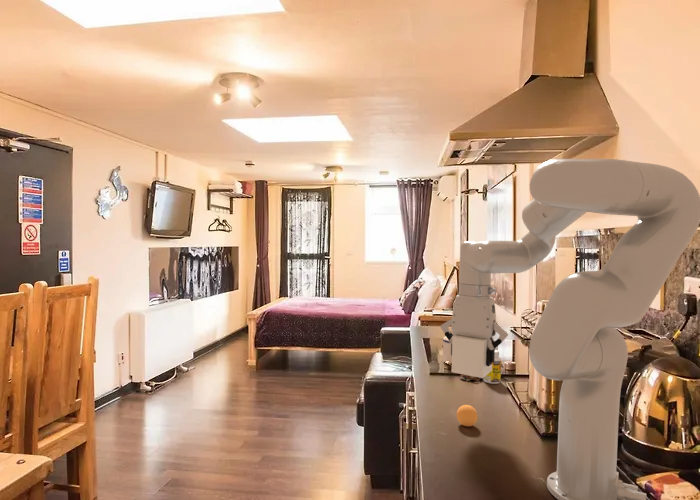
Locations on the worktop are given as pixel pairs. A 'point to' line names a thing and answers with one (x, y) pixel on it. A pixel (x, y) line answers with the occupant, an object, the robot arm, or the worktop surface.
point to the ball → (467, 415)
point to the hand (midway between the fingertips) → (472, 361)
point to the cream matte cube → (469, 356)
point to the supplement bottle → (494, 371)
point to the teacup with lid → (447, 350)
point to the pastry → (467, 377)
